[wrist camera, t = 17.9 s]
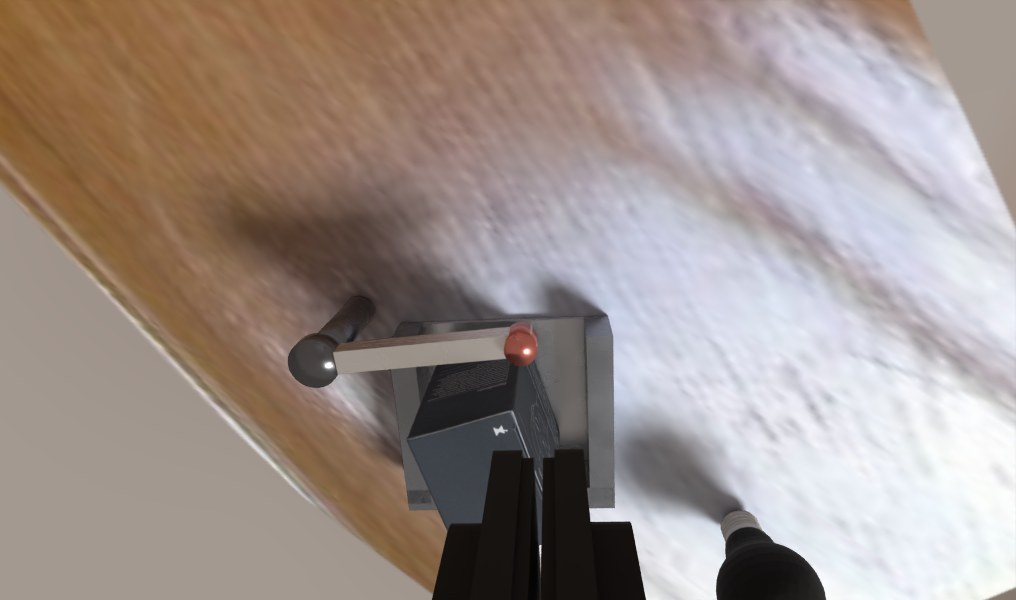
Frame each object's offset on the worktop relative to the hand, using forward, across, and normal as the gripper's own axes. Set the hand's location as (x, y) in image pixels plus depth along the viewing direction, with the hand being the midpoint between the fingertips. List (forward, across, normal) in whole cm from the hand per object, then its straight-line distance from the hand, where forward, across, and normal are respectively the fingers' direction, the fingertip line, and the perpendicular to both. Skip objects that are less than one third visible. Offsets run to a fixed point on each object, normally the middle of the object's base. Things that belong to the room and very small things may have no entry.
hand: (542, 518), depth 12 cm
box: (+27, +3, +11) cm, 29 cm away
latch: (+20, +7, +5) cm, 21 cm away
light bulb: (+27, -12, +21) cm, 36 cm away
